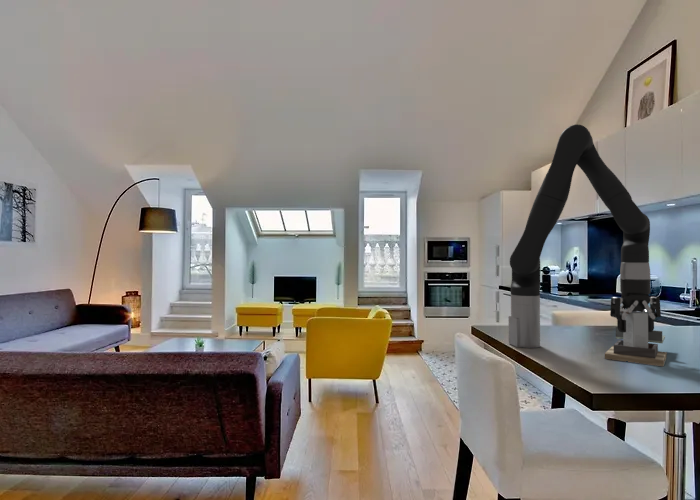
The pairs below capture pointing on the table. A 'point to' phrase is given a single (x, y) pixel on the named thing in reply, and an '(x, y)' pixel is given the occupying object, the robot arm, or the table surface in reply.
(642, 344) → the skincare box
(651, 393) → the table surface
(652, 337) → the cover
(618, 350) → the socket board
